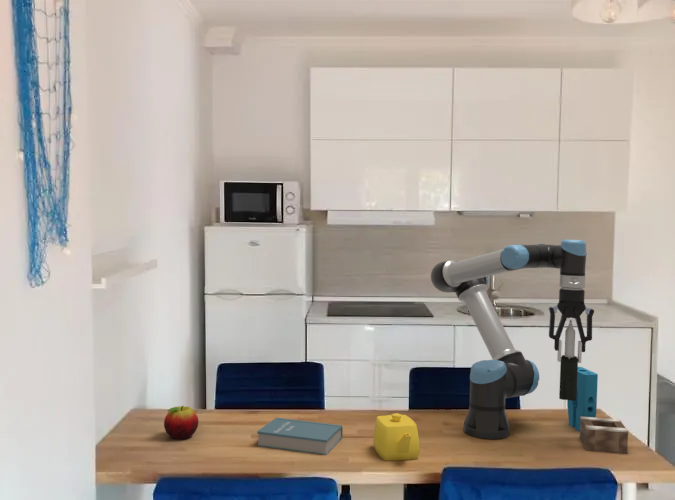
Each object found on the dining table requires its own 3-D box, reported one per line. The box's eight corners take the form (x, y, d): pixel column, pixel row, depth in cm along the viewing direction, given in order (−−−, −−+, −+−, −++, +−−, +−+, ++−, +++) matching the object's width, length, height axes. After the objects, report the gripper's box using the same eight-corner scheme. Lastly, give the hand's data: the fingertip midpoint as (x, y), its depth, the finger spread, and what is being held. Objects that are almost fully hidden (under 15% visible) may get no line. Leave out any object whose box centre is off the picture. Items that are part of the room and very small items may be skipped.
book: (256, 447, 201) (257, 431, 201) (277, 431, 216) (277, 416, 216) (326, 456, 194) (326, 440, 194) (342, 439, 210) (342, 424, 209)
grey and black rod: (576, 397, 209) (579, 319, 207) (576, 401, 204) (579, 321, 203) (559, 395, 210) (562, 318, 209) (559, 399, 205) (562, 320, 204)
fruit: (205, 436, 209) (205, 405, 208) (175, 444, 201) (176, 412, 200) (185, 428, 216) (186, 399, 216) (157, 436, 208) (157, 405, 208)
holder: (585, 450, 202) (586, 427, 202) (579, 437, 214) (580, 416, 214) (627, 453, 200) (628, 430, 200) (619, 440, 212) (619, 419, 211)
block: (596, 433, 219) (598, 374, 218) (582, 433, 218) (584, 374, 217) (579, 422, 231) (580, 366, 230) (565, 422, 230) (567, 366, 229)
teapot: (427, 464, 188) (428, 424, 187) (386, 467, 185) (387, 426, 185) (406, 441, 208) (406, 405, 207) (368, 443, 205) (369, 406, 204)
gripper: (542, 288, 204) (540, 362, 205) (605, 291, 200) (602, 365, 201) (540, 286, 211) (537, 357, 212) (600, 288, 207) (597, 360, 208)
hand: (569, 361), depth 207 cm, fingers closed on grey and black rod, 5 cm apart
